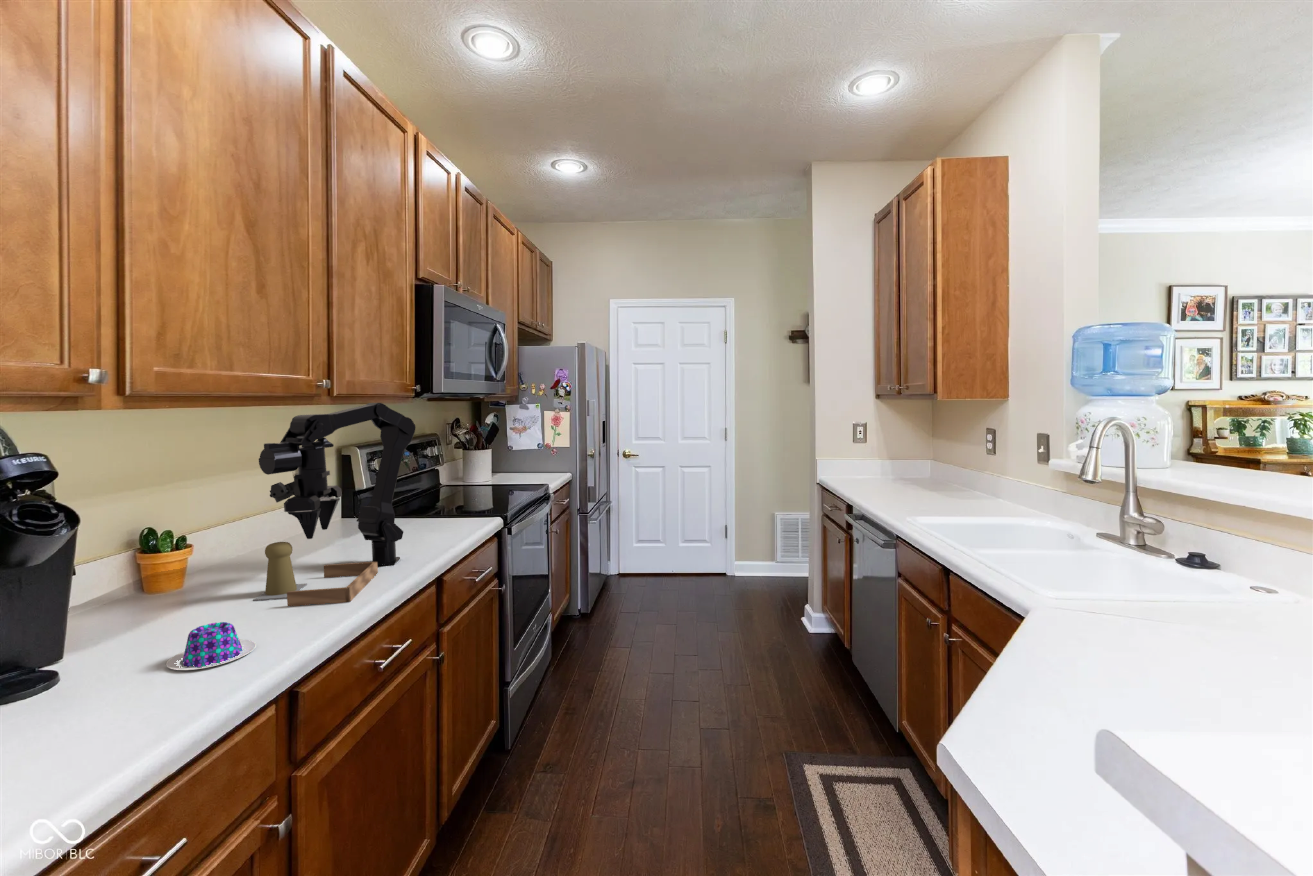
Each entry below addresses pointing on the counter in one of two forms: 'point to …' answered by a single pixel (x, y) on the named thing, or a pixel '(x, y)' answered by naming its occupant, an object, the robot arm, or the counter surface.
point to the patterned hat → (211, 646)
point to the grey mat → (283, 596)
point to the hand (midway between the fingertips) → (317, 534)
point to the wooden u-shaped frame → (336, 595)
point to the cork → (279, 569)
